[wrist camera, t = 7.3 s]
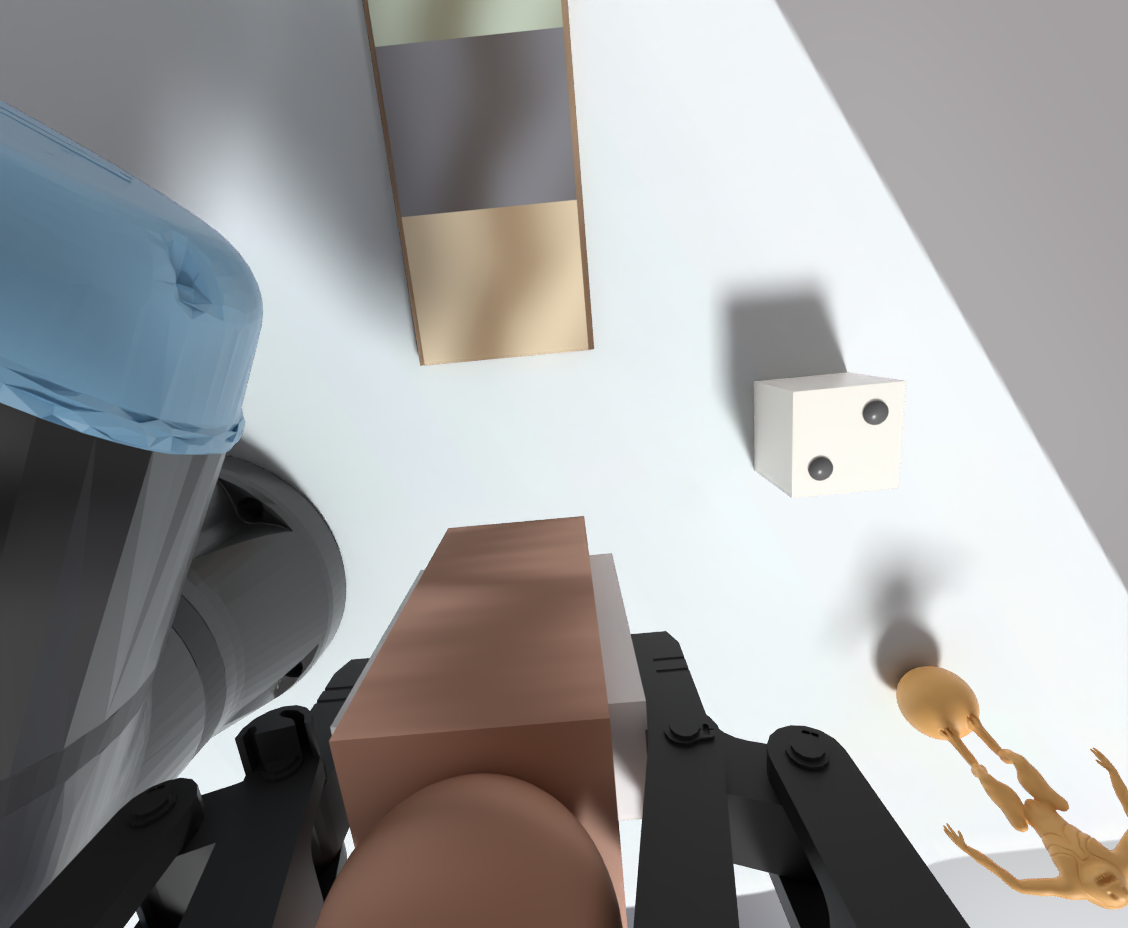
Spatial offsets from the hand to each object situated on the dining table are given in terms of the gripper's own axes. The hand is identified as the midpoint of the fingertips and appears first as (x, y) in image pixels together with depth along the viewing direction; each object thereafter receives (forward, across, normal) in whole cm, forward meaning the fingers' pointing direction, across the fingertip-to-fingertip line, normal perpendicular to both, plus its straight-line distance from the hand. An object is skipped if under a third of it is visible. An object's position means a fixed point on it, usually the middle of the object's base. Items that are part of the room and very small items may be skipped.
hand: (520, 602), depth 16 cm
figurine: (+14, +23, -16) cm, 31 cm away
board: (+14, -1, +17) cm, 22 cm away
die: (+14, +15, +2) cm, 20 cm away
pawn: (+1, 0, 0) cm, 1 cm away
